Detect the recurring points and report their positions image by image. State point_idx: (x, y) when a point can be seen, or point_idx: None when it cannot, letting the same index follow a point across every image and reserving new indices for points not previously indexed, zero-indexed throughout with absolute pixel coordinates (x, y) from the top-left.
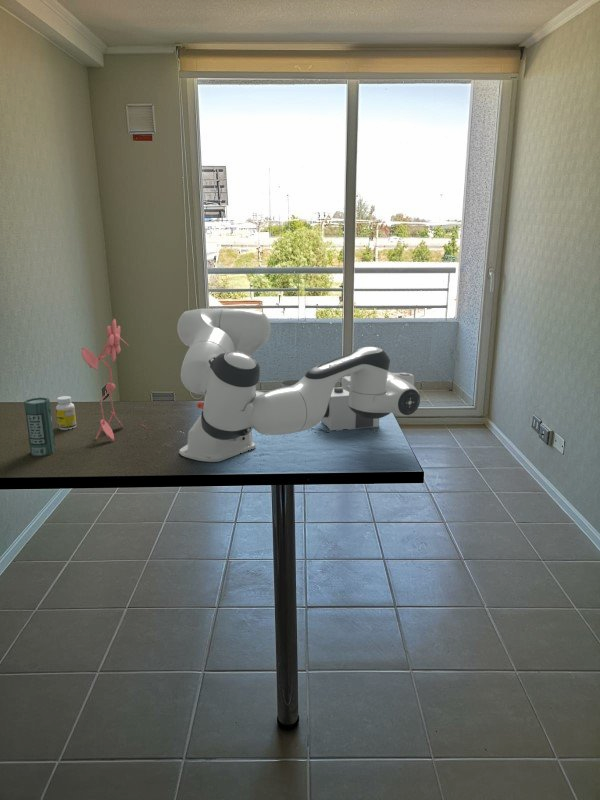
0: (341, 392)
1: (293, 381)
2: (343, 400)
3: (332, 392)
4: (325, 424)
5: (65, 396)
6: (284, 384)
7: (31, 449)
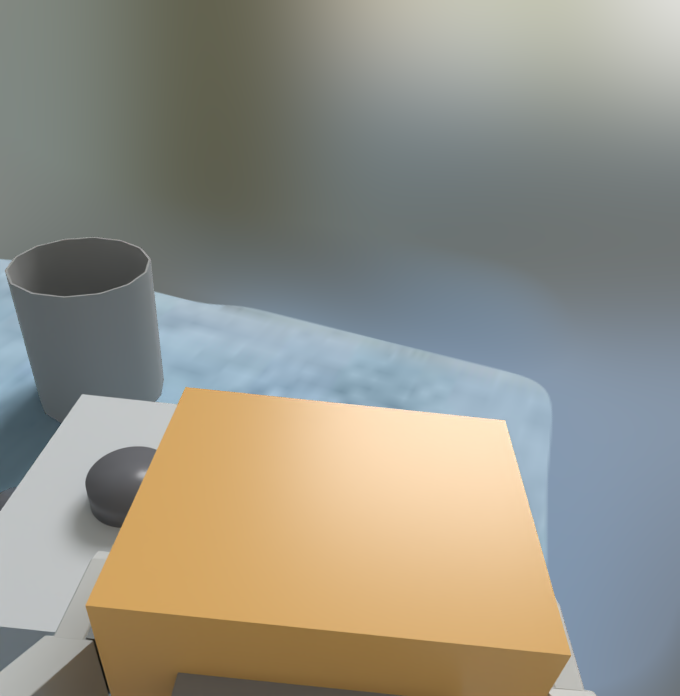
0: None
1: (123, 248)
2: None
3: (67, 497)
4: None
5: None
6: (75, 256)
7: None
